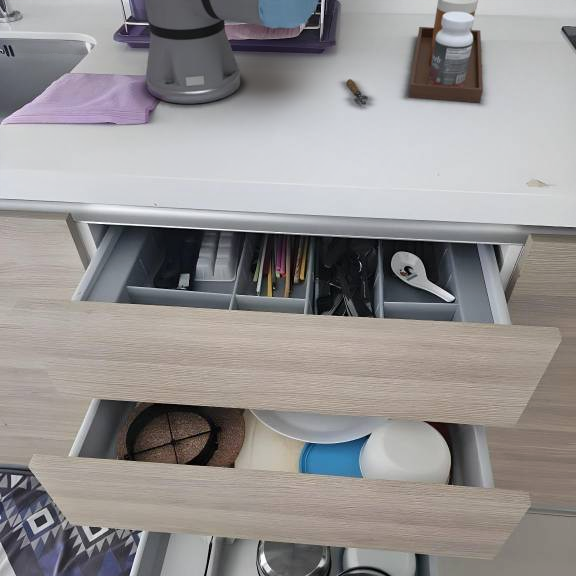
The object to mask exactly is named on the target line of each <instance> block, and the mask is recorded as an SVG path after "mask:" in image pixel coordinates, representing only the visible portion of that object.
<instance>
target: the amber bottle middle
mask: <svg viewBox="0 0 576 576" xmlns="http://www.w3.org/2000/svg"><path fill="white" fill-rule="evenodd" d="M478 3H479V0H437V5H438V6H436V8H437V7H438V10H437V9H436V11H437V16H436V15H435V17H436V22H435V21H434V23H435V28H434V27H433V28H434V35H433V41H432V47H431V53H430V59H429V65H430V66H431V62H432V56H433V51H434V44H435V39H436V35H437V33H438V32H439V31H440V30H442V25H441V22H442V17H443V15H444V14H445V13H447V12H465V13H468V14H471V15H472V16H473V17H474V18H475V14H476V11H477V7H478ZM471 30H473V27H472V28H471V29H470V32H471Z"/></svg>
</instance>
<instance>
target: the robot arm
mask: <svg viewBox="0 0 576 576" xmlns="http://www.w3.org/2000/svg"><path fill="white" fill-rule="evenodd" d="M319 2H320V0H144V4H145V10H146V16H147V22H148V29H149V34H150V36H149V38H150V40H149V47H148V56H147V63H146V64H147V65H146V70H145V71H146V73H145V79H146V85H147V86H146V87H147V91H148V92H149V93H150V95H152V96H153V97H155V98H156V99H158V100H162V101H165V102H168V103H174V104H184V105H185V104H186V105H190V104H192V105H193V104H204V103H209V102H215V101H218V100H222V99H224V98H226V97H228V96H230V95H232V94H233V93H235V92H236V91H237V90H238V89H239V88H240V85H241V73H240V68H239V65H238V62H237V59H236V57H235V54H234V51H233V49H232V46H231V44H230V43H231V42H230V40H229V38H228V35H227V32H226V25H225V21H228V22H235V23H241V24H249V25H255V26H261V27H266V28H269V29H279V28H282V29H283V28H284V29H296V28H299V27H300V26H302V25H303V24H305V23H306V22H307V21H308V20H309V19H310V18H311V17H312V15H313V13H314V12H315V10H316V8H317V6H318V4H319Z"/></svg>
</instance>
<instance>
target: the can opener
mask: <svg viewBox="0 0 576 576" xmlns="http://www.w3.org/2000/svg"><path fill="white" fill-rule="evenodd" d="M346 85H347V87H348V88H349V90H350V91H351V92H352V93H353V95H354V96H355V98H354V99H353V102H354V103H355V104H356V105H357V106H359V107H362V105H367V100H366V99H368V98H369V97H368V95H362V92H361V91H360V90H359V88H358V86H357V84H356V82H355V81H353V80H352V79H351V78H349V79H348V80H347V81H346ZM360 102H361V103H360ZM361 104H362V105H361Z"/></svg>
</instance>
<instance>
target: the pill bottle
mask: <svg viewBox="0 0 576 576" xmlns="http://www.w3.org/2000/svg"><path fill="white" fill-rule="evenodd" d="M474 21H475V16H474V17H473V16H472V15H471V14H468V13H465V12H447V13H445V14H444V15H443V17H442V22H441V25H442V30H440V31H439V32H438V33H437V35H436V39H435V44H434V51H433V56H432V62H431V68H430V74H429V81H428V82H429V84H432V85H445V86H459V87H462V86H463V85H464V81H465V76H466V72H467V67H468V62H469V57H470V52H471V48H472V43H473V35H472V33H471V32H470V29H471V28H472V29H473V26H474Z"/></svg>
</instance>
